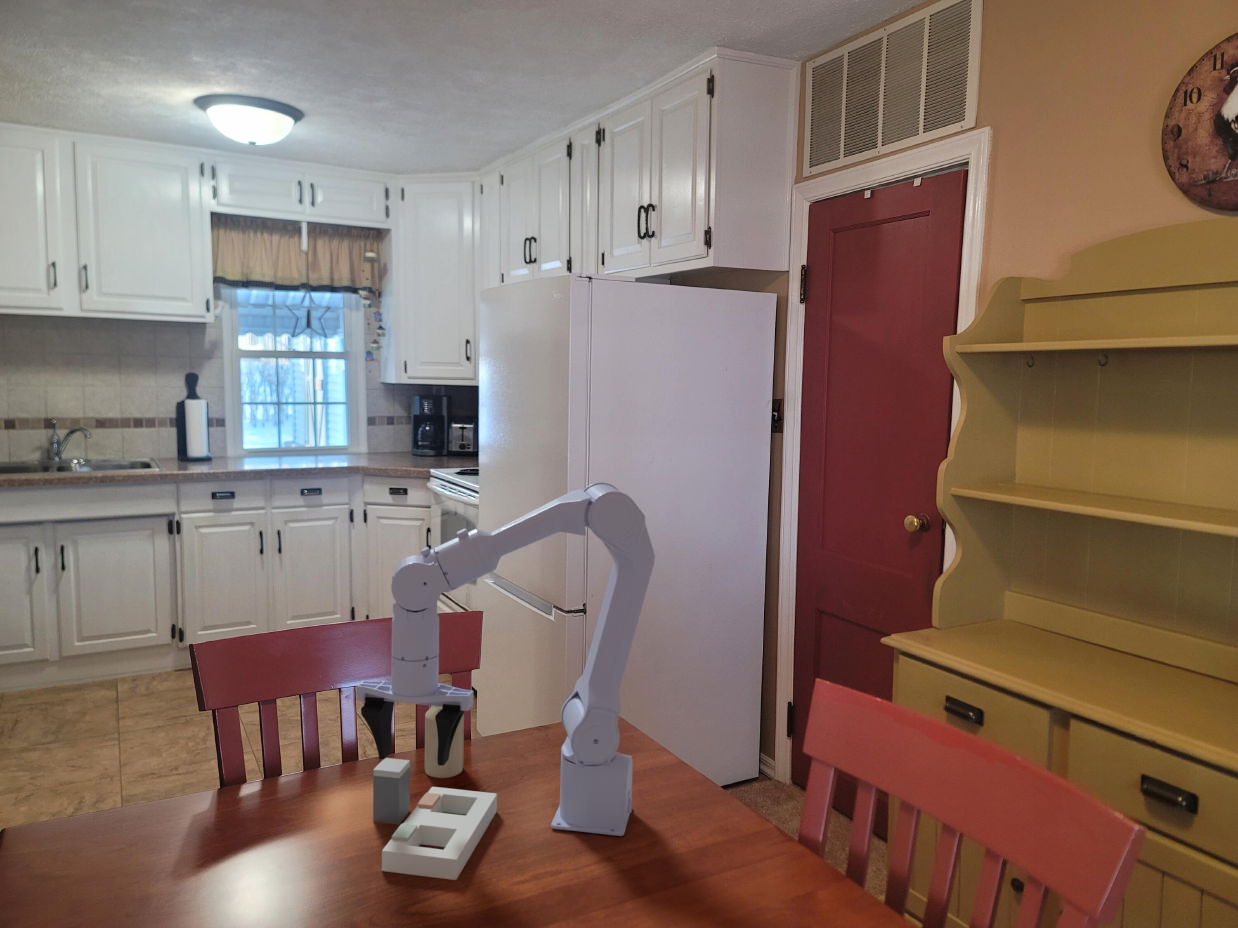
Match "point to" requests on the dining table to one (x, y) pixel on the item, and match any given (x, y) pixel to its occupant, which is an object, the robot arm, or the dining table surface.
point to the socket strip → (440, 833)
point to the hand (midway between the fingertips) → (414, 758)
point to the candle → (431, 748)
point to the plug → (391, 790)
